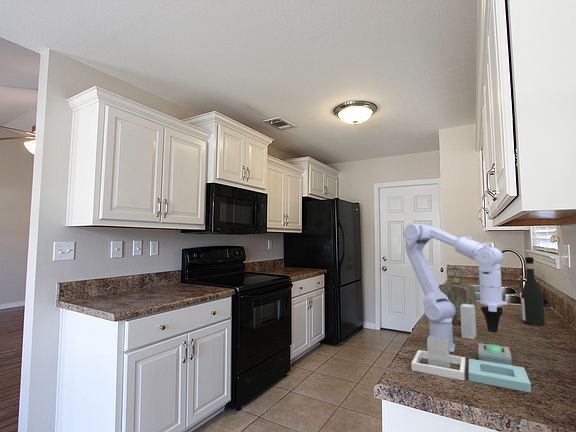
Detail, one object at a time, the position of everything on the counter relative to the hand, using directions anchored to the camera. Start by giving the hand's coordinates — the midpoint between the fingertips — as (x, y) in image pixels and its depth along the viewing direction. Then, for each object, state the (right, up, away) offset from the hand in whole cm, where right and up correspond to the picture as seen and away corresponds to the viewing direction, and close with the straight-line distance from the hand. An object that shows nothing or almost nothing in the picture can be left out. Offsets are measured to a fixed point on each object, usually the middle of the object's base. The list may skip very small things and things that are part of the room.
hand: (492, 331), depth 96 cm
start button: (0, -8, -1) cm, 8 cm away
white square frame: (-19, -8, -5) cm, 21 cm away
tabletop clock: (+14, -14, +46) cm, 50 cm away
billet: (-19, -9, -5) cm, 21 cm away
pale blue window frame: (-7, -8, -12) cm, 16 cm away
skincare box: (+8, -12, +26) cm, 29 cm away
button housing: (0, -9, -1) cm, 9 cm away
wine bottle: (+49, -14, +47) cm, 69 cm away
